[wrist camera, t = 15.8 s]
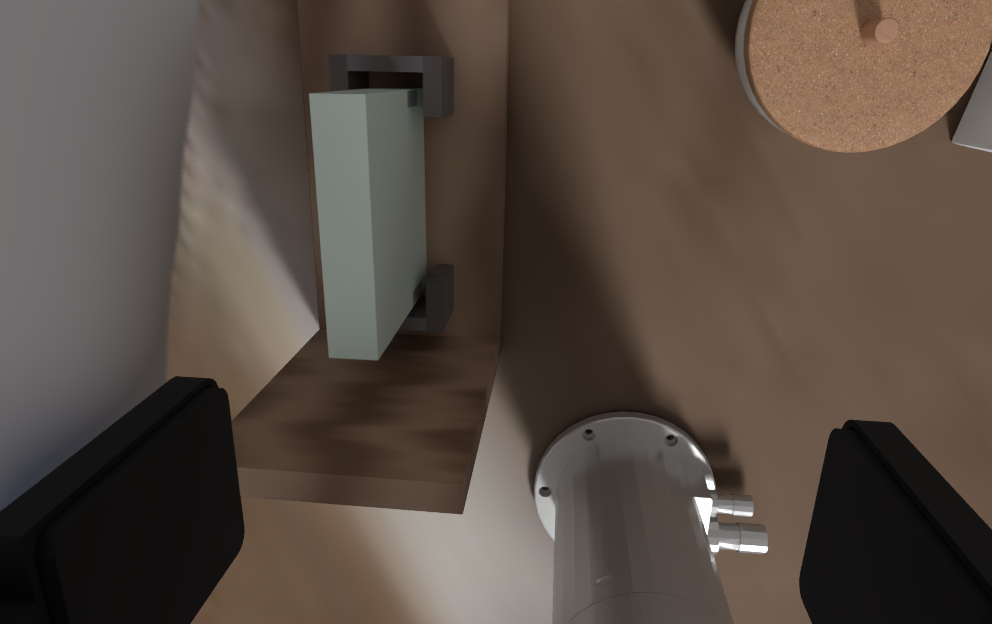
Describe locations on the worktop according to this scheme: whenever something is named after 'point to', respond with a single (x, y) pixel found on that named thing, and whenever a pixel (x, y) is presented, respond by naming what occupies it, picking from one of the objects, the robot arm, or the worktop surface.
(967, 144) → the milk
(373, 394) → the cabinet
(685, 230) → the worktop surface
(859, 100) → the lidded jar
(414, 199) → the door
